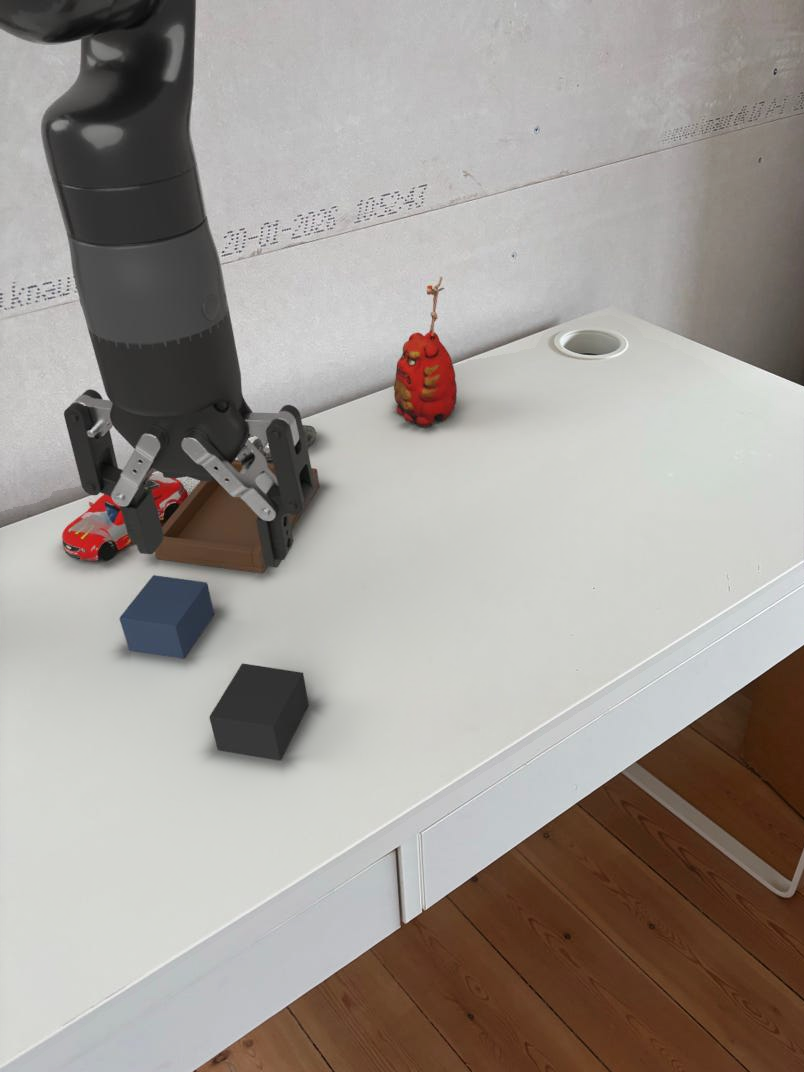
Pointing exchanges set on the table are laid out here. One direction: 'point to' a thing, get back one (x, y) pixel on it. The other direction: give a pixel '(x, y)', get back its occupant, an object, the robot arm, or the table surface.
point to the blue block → (167, 616)
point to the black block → (259, 711)
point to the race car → (116, 521)
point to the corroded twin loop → (309, 437)
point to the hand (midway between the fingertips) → (213, 553)
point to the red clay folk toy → (425, 376)
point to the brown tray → (217, 529)
